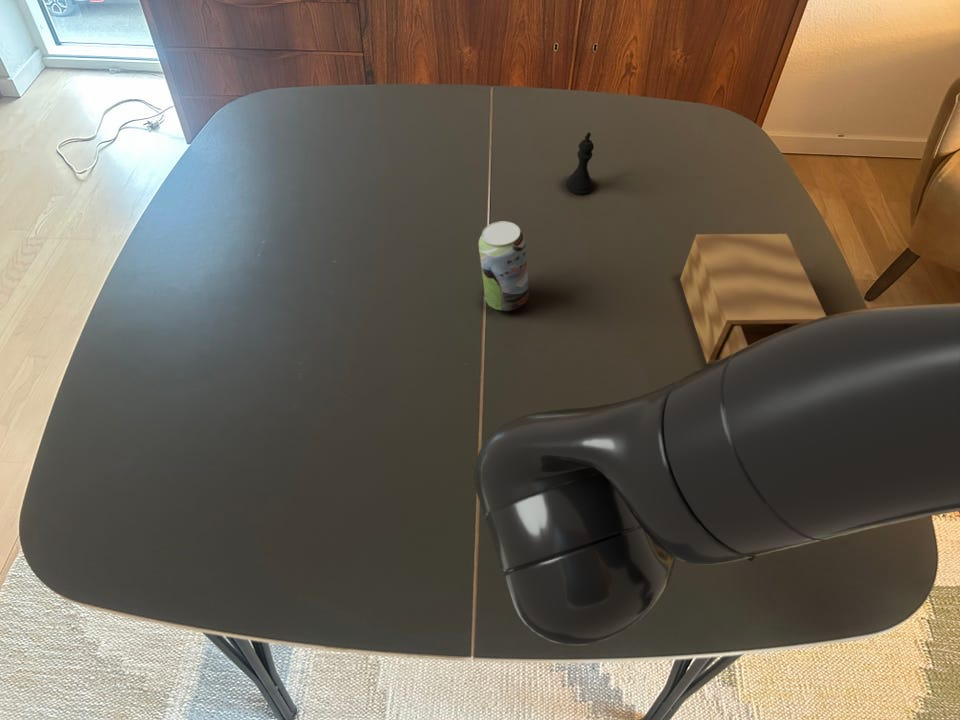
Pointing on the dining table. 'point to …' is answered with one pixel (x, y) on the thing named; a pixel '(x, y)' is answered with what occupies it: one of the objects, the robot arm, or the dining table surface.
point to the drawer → (748, 336)
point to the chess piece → (582, 170)
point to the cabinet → (745, 285)
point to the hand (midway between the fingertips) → (712, 478)
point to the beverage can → (504, 266)
